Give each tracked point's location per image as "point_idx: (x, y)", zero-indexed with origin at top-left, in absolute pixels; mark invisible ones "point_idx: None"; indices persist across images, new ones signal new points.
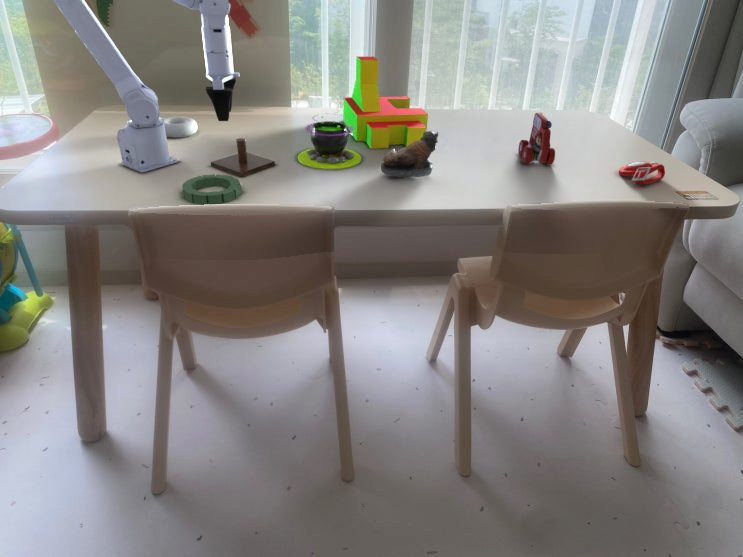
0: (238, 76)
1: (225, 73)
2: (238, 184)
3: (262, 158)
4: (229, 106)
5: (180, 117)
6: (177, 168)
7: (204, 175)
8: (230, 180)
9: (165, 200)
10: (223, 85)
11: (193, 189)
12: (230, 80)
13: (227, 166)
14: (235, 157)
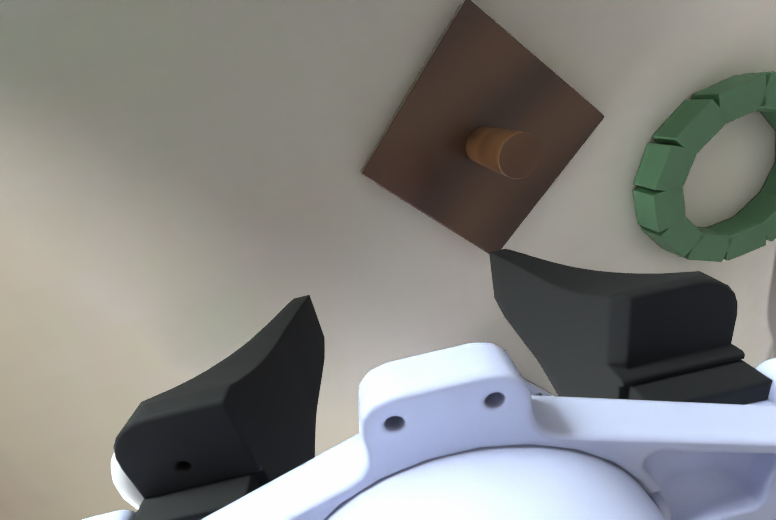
0: (499, 352)
1: (661, 517)
2: (765, 80)
3: (438, 69)
4: (540, 269)
5: (133, 490)
6: (510, 333)
7: (661, 224)
8: (722, 122)
9: (740, 275)
10: (681, 396)
11: (773, 216)
12: (251, 435)
13: (538, 187)
14: (440, 187)
